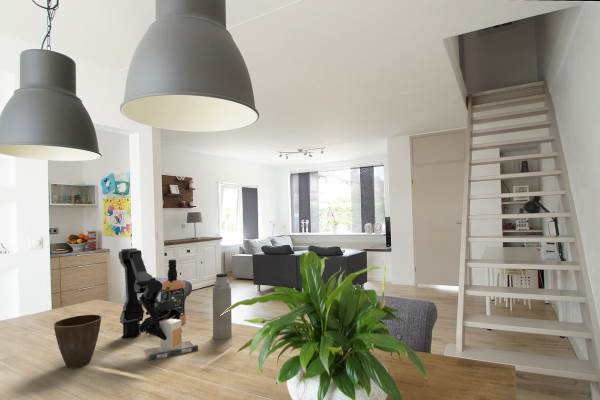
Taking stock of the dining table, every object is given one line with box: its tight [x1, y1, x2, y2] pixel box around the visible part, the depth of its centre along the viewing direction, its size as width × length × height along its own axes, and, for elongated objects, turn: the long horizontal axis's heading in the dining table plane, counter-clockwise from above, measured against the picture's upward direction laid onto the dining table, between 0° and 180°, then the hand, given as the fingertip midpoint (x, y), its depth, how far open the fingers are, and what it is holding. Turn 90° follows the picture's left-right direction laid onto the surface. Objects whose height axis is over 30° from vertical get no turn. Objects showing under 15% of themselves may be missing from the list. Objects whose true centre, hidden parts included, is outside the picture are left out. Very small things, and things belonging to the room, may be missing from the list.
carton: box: [160, 319, 183, 352], centre depth 140 cm, size 6×6×12 cm
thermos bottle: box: [212, 273, 233, 340], centre depth 156 cm, size 8×8×28 cm
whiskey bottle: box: [159, 258, 187, 326], centre depth 180 cm, size 10×10×32 cm
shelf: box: [143, 340, 199, 362], centre depth 140 cm, size 18×13×3 cm
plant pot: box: [53, 314, 102, 369], centre depth 131 cm, size 15×15×16 cm
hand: (173, 336), depth 139 cm, fingers open, 8 cm apart
